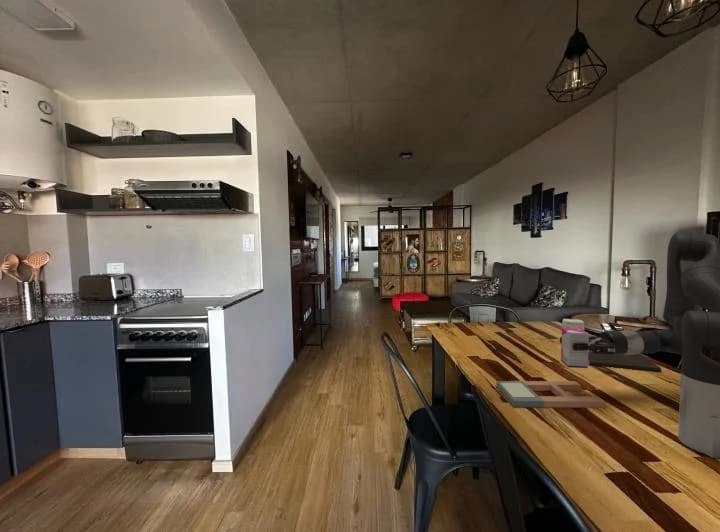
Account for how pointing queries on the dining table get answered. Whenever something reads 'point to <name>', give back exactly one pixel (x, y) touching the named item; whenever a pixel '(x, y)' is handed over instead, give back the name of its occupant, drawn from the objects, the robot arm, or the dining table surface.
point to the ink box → (572, 323)
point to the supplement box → (567, 353)
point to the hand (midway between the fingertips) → (566, 343)
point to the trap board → (526, 397)
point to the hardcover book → (623, 362)
